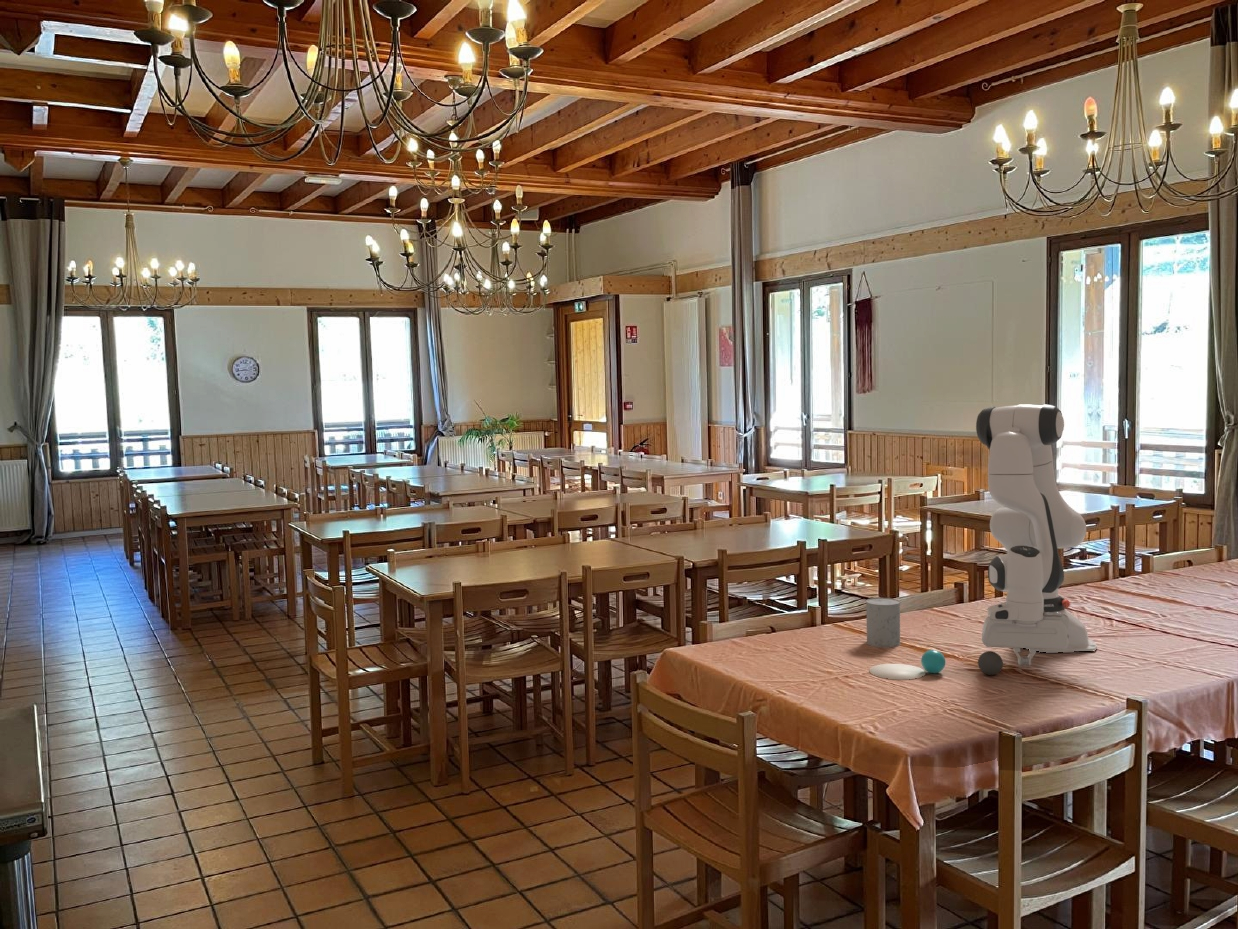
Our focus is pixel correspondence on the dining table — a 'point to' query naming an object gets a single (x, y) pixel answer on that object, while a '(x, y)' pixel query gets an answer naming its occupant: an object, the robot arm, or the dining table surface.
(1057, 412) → the robot arm
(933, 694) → the dining table surface
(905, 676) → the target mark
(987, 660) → the dark grey ball
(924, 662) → the object ball
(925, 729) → the dining table surface
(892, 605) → the grey speckled stone cylinder
